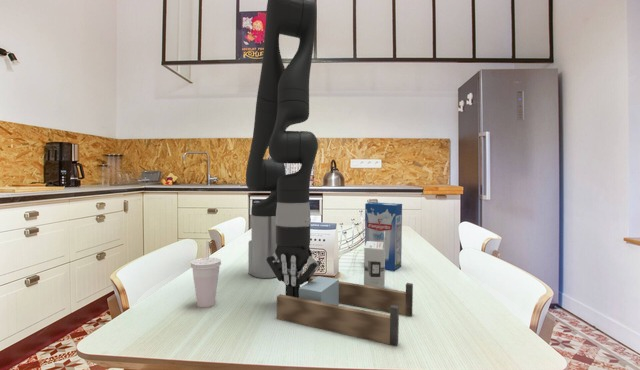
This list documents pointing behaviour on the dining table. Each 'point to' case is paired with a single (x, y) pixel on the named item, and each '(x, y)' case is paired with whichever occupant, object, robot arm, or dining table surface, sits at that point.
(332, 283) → the slate block
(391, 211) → the milk carton
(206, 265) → the smoothie
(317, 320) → the chute
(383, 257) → the ink box
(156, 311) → the dining table surface
